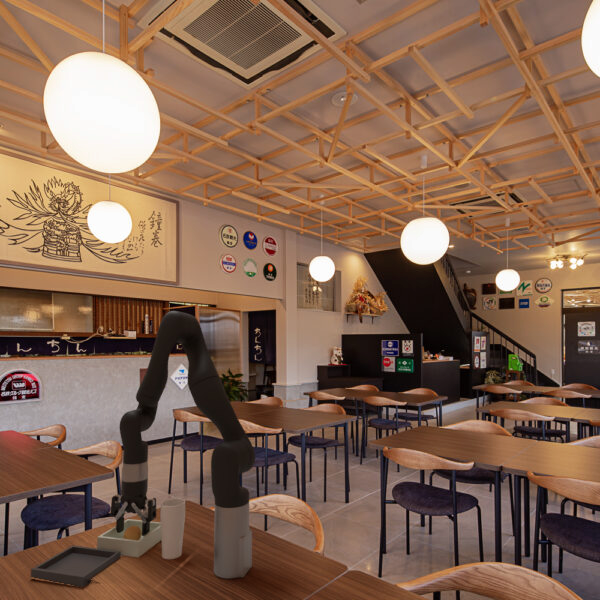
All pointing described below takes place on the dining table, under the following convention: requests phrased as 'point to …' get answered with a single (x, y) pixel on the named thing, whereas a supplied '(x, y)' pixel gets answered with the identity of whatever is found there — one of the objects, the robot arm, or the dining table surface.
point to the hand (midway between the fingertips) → (132, 533)
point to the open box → (130, 547)
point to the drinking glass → (172, 527)
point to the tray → (75, 565)
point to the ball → (133, 533)
